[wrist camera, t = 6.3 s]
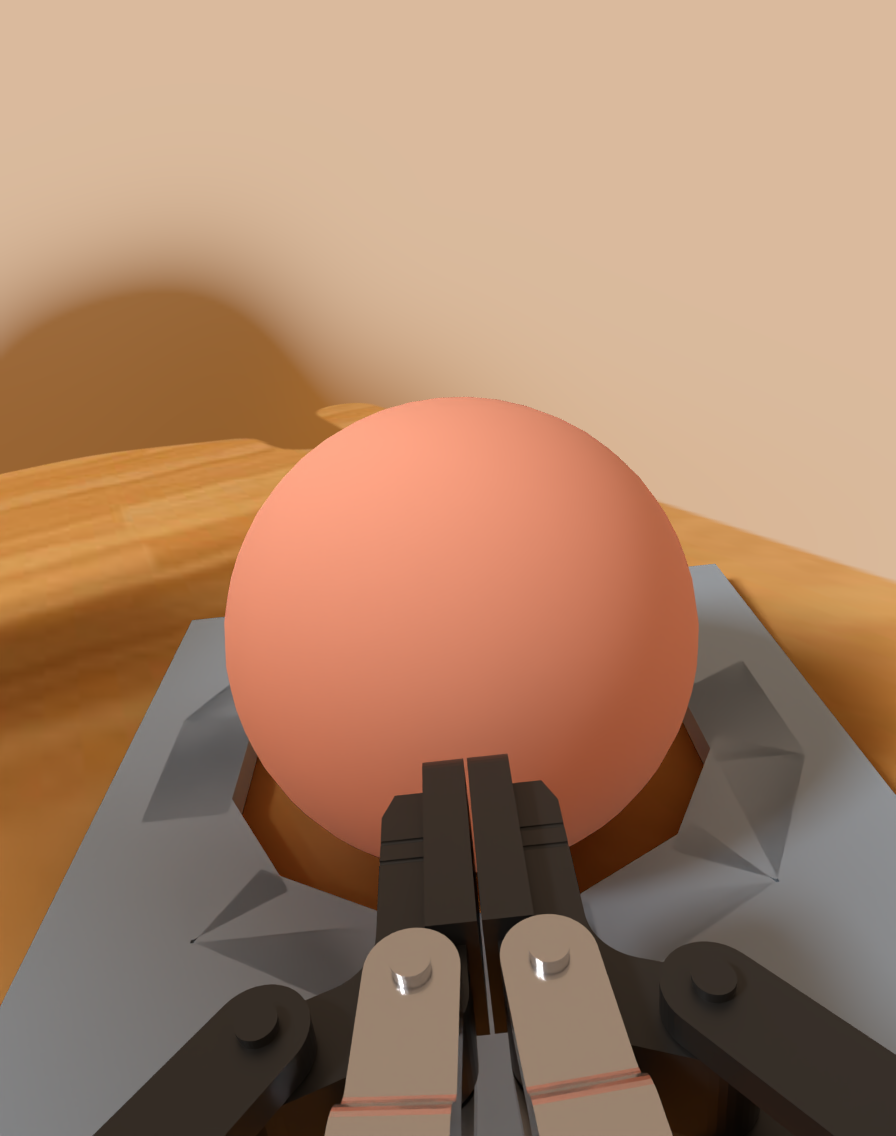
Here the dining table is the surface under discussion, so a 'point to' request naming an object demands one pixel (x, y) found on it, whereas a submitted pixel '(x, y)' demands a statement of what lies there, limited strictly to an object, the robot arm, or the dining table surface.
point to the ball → (460, 616)
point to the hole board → (348, 930)
